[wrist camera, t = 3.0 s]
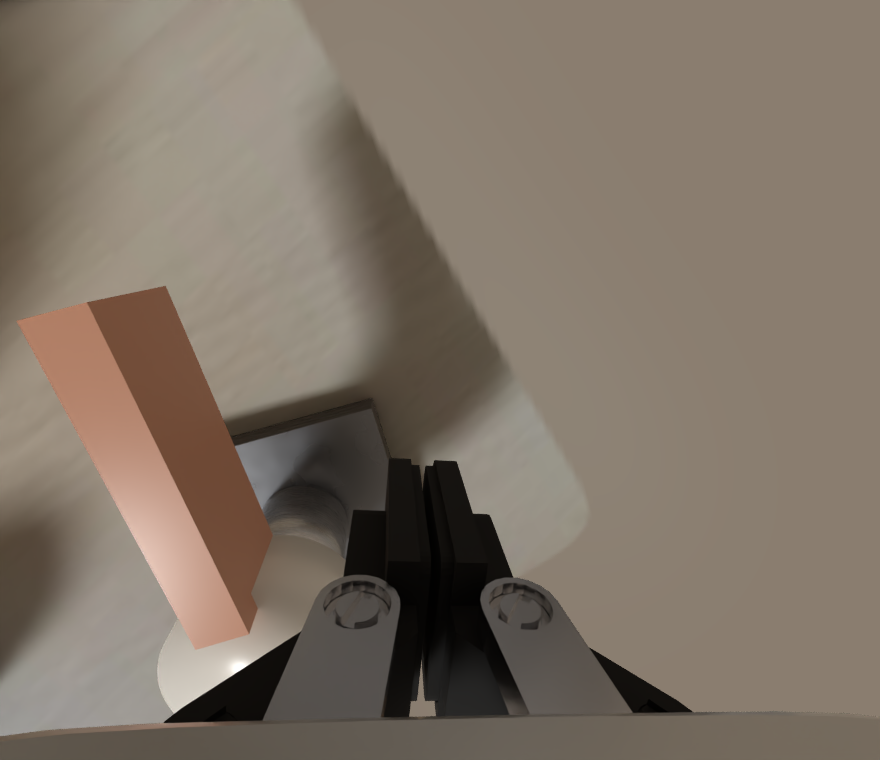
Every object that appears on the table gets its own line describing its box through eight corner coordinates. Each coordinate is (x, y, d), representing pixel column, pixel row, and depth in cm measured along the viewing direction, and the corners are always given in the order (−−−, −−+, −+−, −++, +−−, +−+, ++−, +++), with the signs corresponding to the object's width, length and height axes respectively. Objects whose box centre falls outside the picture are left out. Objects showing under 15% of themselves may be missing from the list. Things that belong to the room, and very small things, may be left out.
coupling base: (176, 452, 23) (100, 530, 17) (372, 398, 23) (368, 454, 17) (250, 607, 26) (209, 721, 20) (422, 557, 26) (434, 654, 20)
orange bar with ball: (383, 643, 19) (382, 742, 15) (231, 688, 19) (193, 800, 15) (241, 266, 14) (190, 275, 11) (36, 319, 14) (-91, 349, 10)
